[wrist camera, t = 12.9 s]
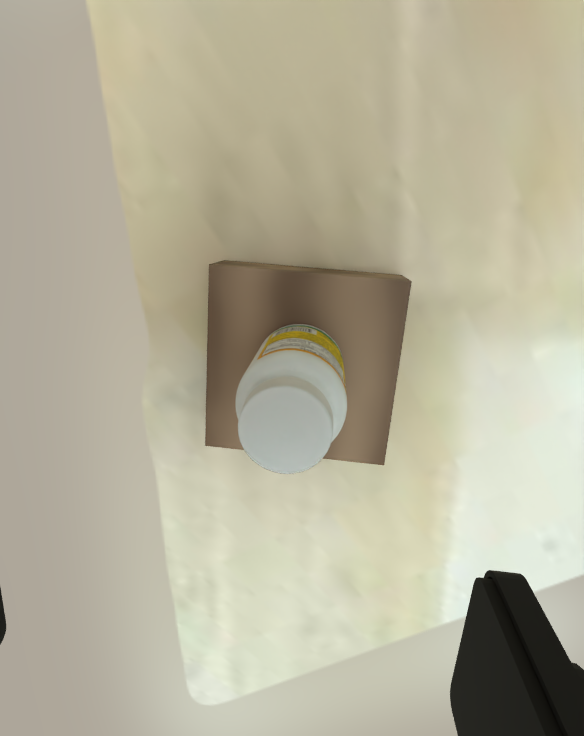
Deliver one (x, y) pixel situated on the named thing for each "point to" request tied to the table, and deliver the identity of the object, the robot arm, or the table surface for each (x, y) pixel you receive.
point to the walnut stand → (324, 311)
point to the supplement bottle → (292, 399)
